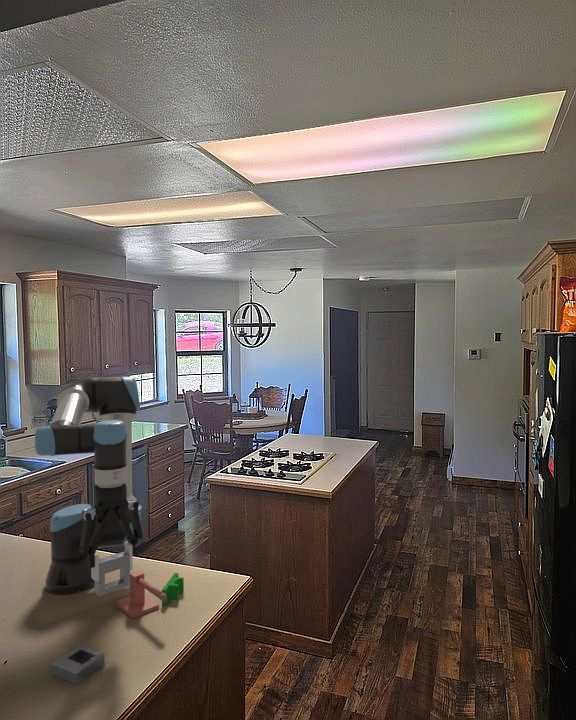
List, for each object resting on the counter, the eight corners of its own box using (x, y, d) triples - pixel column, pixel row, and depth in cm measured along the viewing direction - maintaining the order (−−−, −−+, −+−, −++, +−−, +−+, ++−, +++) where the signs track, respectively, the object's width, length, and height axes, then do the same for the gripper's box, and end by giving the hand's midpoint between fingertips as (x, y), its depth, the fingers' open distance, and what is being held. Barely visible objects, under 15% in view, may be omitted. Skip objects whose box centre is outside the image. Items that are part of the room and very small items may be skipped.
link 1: (51, 674, 116) (51, 663, 116) (80, 655, 123) (80, 645, 123) (76, 685, 113) (76, 674, 113) (104, 664, 120) (104, 654, 120)
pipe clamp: (174, 606, 147) (174, 590, 146) (161, 605, 147) (161, 590, 147) (186, 587, 158) (186, 572, 158) (174, 586, 158) (174, 572, 158)
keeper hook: (116, 604, 147) (115, 571, 147) (142, 595, 153) (141, 563, 152) (151, 634, 132) (150, 597, 132) (178, 622, 138) (178, 587, 137)
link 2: (94, 592, 128) (94, 560, 128) (125, 581, 133) (125, 551, 133) (99, 595, 126) (98, 563, 126) (130, 585, 132) (129, 554, 131)
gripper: (74, 495, 119) (75, 593, 120) (156, 478, 133) (157, 566, 134) (62, 488, 124) (64, 582, 125) (142, 473, 138) (143, 556, 139)
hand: (112, 573), depth 130 cm, fingers closed on link 2, 8 cm apart
